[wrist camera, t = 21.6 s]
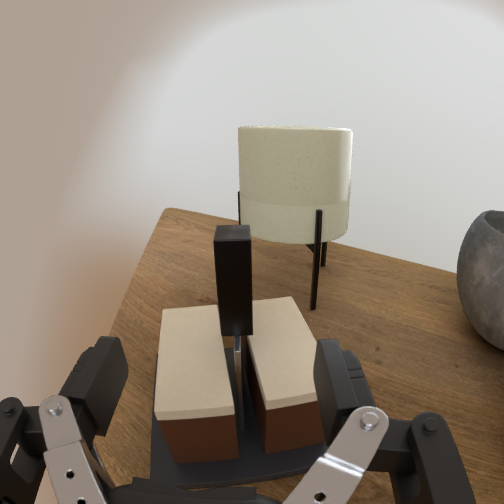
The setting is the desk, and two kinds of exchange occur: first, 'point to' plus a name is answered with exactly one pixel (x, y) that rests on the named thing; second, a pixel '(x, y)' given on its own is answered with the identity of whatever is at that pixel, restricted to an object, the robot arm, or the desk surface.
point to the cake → (234, 399)
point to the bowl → (484, 276)
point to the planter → (295, 186)
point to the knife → (235, 294)
